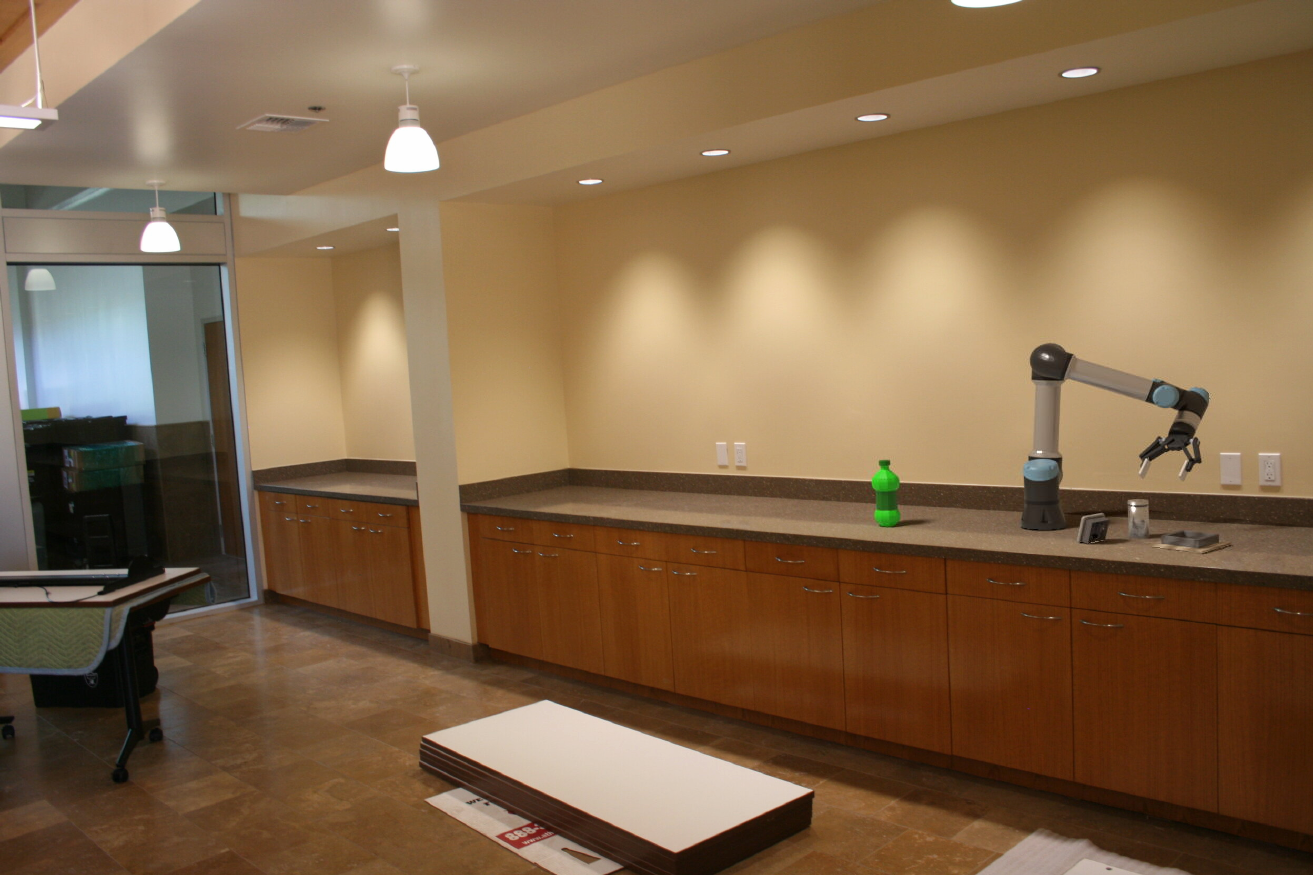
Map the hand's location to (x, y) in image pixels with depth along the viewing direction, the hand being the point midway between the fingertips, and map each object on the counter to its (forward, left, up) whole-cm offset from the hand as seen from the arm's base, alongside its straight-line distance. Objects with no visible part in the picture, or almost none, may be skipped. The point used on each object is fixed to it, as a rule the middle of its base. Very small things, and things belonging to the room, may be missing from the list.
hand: (1160, 477), depth 317 cm
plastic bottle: (-81, -45, -18) cm, 94 cm away
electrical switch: (-7, -27, -18) cm, 33 cm away
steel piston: (-1, -12, -18) cm, 22 cm away
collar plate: (+18, -16, -18) cm, 31 cm away
